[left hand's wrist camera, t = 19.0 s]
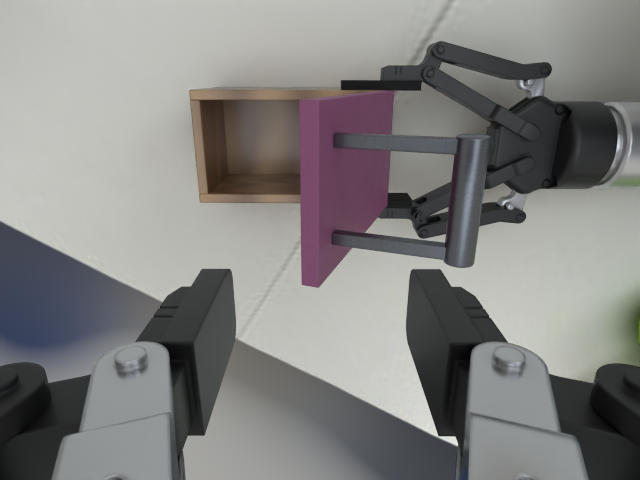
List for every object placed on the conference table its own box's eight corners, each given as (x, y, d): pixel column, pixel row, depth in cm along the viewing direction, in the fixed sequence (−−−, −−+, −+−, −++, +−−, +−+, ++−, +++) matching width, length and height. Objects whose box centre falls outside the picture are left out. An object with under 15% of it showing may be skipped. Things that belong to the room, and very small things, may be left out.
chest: (223, 179, 47) (199, 202, 38) (216, 87, 44) (188, 89, 35) (370, 180, 47) (380, 203, 38) (374, 87, 44) (387, 90, 35)
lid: (301, 285, 23) (467, 313, 20) (298, 99, 20) (496, 103, 17) (376, 204, 38) (478, 215, 35) (381, 90, 35) (495, 91, 32)
